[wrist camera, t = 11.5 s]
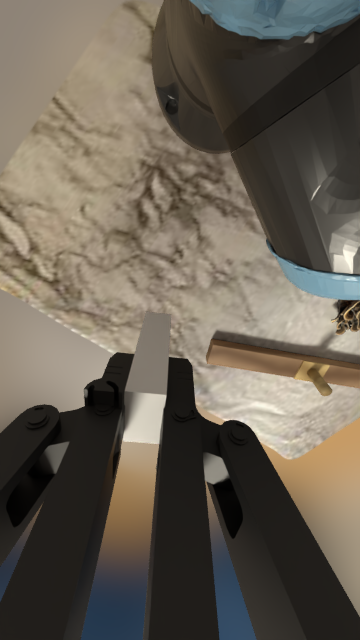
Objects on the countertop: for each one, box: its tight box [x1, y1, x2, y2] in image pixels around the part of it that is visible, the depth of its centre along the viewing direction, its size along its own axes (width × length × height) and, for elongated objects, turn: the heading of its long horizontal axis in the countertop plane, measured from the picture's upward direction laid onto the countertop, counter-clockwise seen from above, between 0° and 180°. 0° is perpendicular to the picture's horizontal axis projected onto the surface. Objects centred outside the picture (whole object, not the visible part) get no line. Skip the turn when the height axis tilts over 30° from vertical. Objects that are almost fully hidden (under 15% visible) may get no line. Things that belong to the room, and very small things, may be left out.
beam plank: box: [206, 339, 360, 396], centre depth 43 cm, size 4×30×7 cm, turn 78°
